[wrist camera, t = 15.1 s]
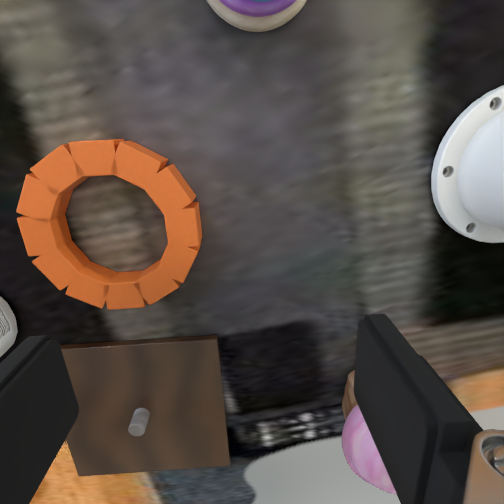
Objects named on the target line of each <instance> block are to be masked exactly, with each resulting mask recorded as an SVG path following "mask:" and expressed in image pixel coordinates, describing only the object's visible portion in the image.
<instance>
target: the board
mask: <svg viewBox="0 0 504 504" xmlns="http://www.w3.org/2000/svg"><path fill="white" fill-rule="evenodd" d="M60 347H61V350H62V354H63V357H64V360H65V363H66V367H67V370H68V373H69V376H70V379H71V383H72V386H73V389H74V392H75V396H76V399H77V402H78V405H79V414H78V417H77V420H76V421H75V423H74V425H73V427H72V428H71V430H70V432H69V434H68V436H67V437H66V440H67V443H68V446H69V449H70V452H71V455H72V458H73V461H74V464H75V466H76V469H77V472H78V475H79V476H91V475H105V474H119V473H133V472H147V471H160V470H174V469H188V468H202V467H216V466H229V465H230V450H229V441H228V431H227V421H226V411H225V402H224V392H223V382H222V372H221V363H220V353H219V343H218V335H206V336H190V337H175V338H160V339H144V340H129V341H113V342H98V343H82V344H67V345H60Z"/></svg>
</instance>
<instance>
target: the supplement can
mask: <svg viewBox="0 0 504 504" xmlns="http://www.w3.org/2000/svg"><path fill="white" fill-rule="evenodd" d="M17 332H18V330H17V324H16V318H15V316H14V313H13V312H12V310H11V308H10V306H9V305H8V303H7V302H6V301H5V300H4V299H3V298H2V297H1V296H0V357H1V356H2V355H3V354H4V353H5V352H6V351H7V350H8V349H9V348H10V347H11V346H12V345H13V344H14V342H15V339H16V335H17Z"/></svg>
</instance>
